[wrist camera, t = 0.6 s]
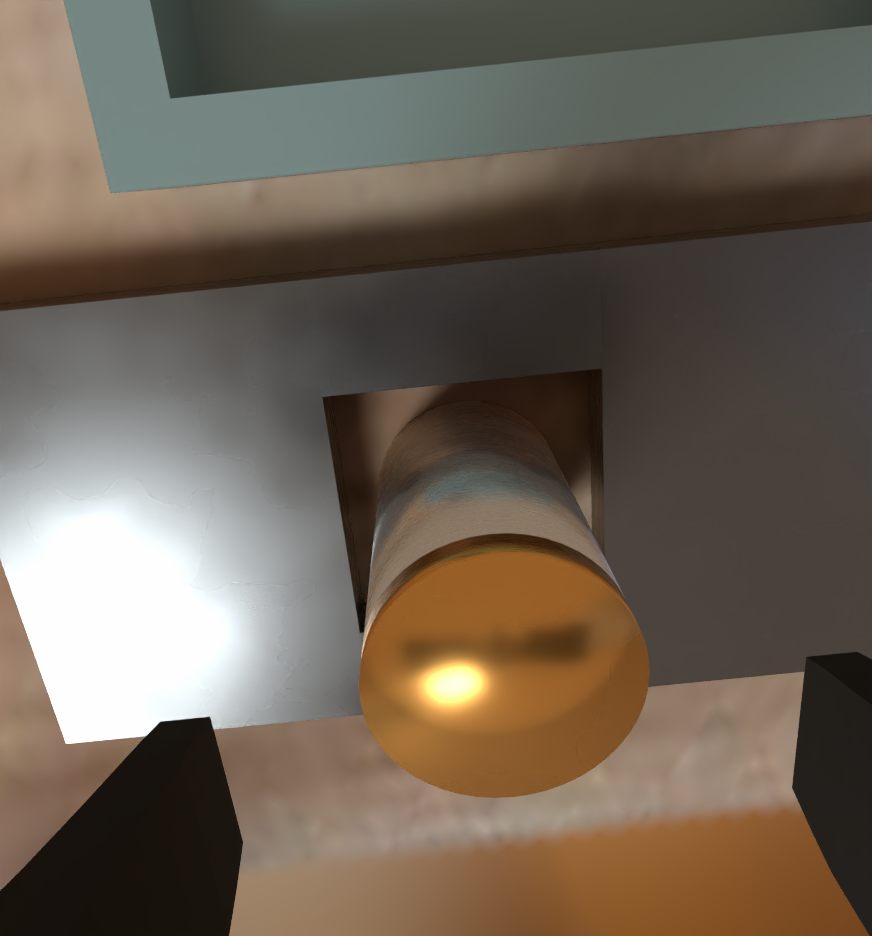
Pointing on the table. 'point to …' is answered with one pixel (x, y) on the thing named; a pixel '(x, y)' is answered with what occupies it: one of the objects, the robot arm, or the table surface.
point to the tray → (445, 78)
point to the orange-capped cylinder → (492, 613)
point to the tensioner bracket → (417, 365)
